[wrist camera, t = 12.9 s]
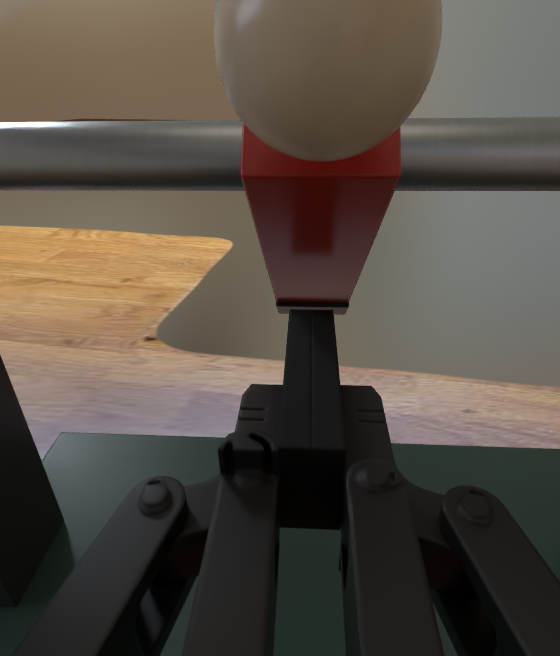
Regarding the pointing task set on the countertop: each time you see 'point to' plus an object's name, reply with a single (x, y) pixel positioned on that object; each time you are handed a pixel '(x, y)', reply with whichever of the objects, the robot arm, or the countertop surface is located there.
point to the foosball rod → (302, 138)
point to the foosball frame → (201, 465)
